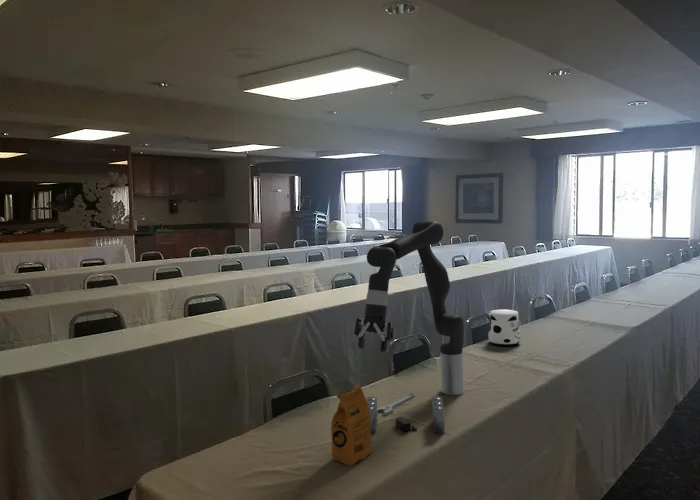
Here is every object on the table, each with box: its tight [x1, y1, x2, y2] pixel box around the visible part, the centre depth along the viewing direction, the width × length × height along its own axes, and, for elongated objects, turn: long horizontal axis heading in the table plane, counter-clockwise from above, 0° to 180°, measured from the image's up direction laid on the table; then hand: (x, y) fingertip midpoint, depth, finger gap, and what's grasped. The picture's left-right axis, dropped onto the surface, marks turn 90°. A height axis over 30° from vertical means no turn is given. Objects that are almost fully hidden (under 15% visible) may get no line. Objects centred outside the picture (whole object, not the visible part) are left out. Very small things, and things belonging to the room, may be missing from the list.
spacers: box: [366, 396, 446, 436], centre depth 188 cm, size 13×28×9 cm, turn 84°
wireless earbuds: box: [395, 416, 418, 433], centre depth 187 cm, size 5×7×3 cm, turn 30°
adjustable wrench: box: [377, 392, 416, 416], centre depth 209 cm, size 25×6×2 cm, turn 136°
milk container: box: [487, 308, 521, 347], centre depth 292 cm, size 17×17×18 cm
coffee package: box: [330, 384, 372, 466], centre depth 167 cm, size 10×12×22 cm
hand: (371, 350), depth 181 cm, fingers open, 8 cm apart
